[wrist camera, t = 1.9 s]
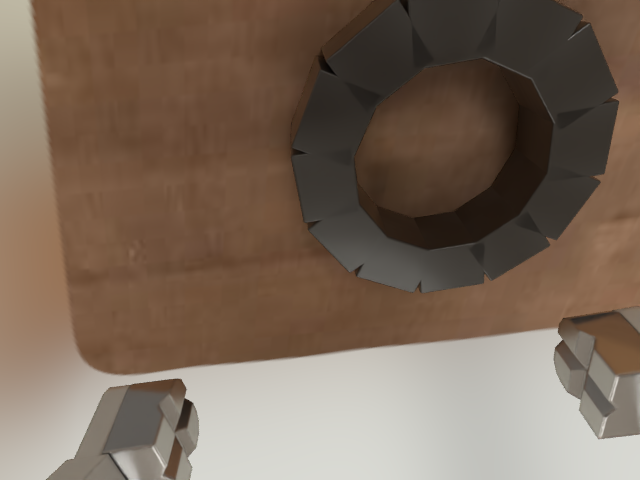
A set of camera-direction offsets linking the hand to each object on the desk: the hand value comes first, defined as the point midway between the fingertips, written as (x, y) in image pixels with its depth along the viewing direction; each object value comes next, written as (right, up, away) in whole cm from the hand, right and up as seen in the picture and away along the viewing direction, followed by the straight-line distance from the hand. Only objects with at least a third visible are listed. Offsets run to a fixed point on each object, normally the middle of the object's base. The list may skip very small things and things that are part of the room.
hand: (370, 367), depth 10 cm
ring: (+4, +7, +10) cm, 13 cm away
